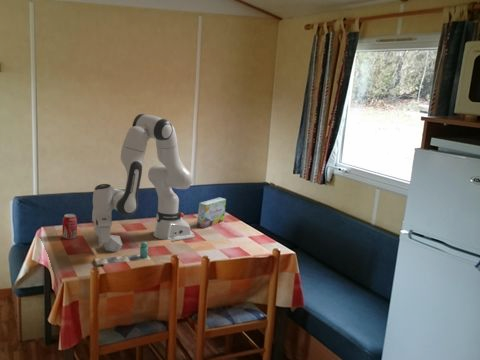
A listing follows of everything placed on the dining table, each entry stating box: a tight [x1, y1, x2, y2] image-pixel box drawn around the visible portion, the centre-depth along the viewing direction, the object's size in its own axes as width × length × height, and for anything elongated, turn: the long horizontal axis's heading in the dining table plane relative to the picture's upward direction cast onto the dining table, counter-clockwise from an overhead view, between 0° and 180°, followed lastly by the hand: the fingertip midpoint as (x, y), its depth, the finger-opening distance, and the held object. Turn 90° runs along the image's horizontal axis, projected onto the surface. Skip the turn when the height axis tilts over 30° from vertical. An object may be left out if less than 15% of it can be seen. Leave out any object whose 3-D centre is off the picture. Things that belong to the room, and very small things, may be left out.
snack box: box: [196, 196, 227, 229], centre depth 287 cm, size 21×6×15 cm, turn 147°
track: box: [92, 254, 151, 268], centre depth 222 cm, size 26×7×1 cm, turn 117°
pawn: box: [139, 241, 149, 259], centre depth 226 cm, size 4×4×8 cm
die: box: [103, 234, 123, 253], centre depth 232 cm, size 8×9×10 cm
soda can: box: [62, 213, 78, 240], centre depth 244 cm, size 7×7×12 cm
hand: (100, 244), depth 229 cm, fingers closed
